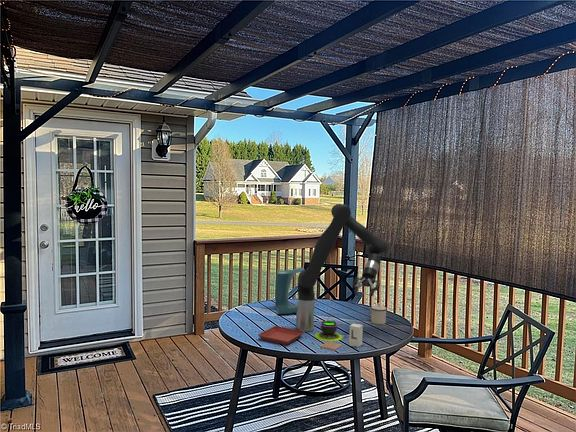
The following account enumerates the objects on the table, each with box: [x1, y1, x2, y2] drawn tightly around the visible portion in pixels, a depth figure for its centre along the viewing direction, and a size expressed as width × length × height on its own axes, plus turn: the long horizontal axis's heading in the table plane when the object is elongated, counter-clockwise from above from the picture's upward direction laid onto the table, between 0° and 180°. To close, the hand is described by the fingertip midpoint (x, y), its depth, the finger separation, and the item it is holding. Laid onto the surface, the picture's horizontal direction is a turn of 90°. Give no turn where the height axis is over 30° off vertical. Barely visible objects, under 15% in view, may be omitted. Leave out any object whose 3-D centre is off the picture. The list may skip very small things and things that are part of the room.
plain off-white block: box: [348, 322, 364, 348], centre depth 211 cm, size 5×5×10 cm
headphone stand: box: [274, 267, 316, 315], centre depth 272 cm, size 26×28×28 cm
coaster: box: [320, 341, 343, 352], centre depth 208 cm, size 8×8×1 cm
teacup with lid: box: [369, 302, 387, 325], centre depth 253 cm, size 12×9×12 cm
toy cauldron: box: [314, 315, 343, 342], centre depth 223 cm, size 15×15×11 cm
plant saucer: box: [257, 325, 305, 346], centre depth 218 cm, size 18×18×3 cm
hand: (362, 294), depth 223 cm, fingers open, 8 cm apart
